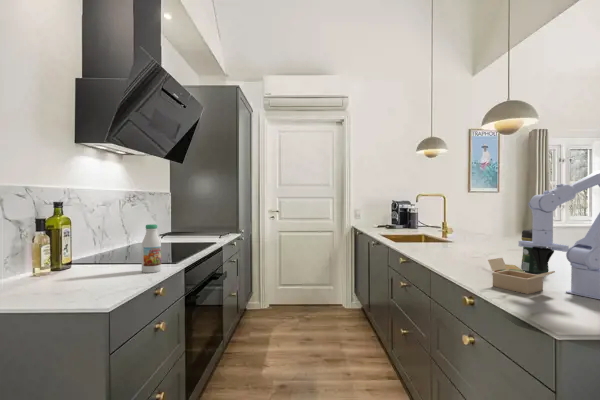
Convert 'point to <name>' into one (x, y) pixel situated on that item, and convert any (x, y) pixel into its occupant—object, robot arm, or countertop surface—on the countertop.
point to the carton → (511, 268)
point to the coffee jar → (529, 255)
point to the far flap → (497, 264)
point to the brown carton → (517, 281)
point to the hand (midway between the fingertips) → (542, 270)
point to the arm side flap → (542, 275)
